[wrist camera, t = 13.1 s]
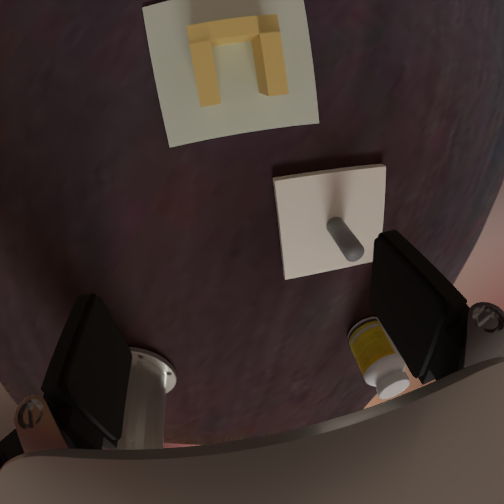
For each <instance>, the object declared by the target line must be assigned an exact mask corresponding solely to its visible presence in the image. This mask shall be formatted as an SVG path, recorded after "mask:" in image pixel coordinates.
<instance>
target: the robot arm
mask: <svg viewBox="0 0 504 504" xmlns="http://www.w3.org/2000/svg"><path fill="white" fill-rule="evenodd" d="M466 303H467V300H466V299H465V298H464V297H463V295H462V294H461V293H460V292H459V291H458V290H457V289H456V288H455V287H454V286H453V285H452V284H451V283H450V282H449V281H448V280H447V279H446V278H445V277H444V276H443V275H442V274H441V273H440V272H439V271H438V270H437V269H436V268H435V267H434V266H433V265H432V264H431V263H430V262H429V261H428V260H427V259H426V258H425V257H424V256H423V255H422V254H421V253H420V252H419V251H418V250H417V249H416V248H415V247H414V246H413V245H412V244H411V243H409V242H408V241H407V240H406V239H405V238H404V237H403V236H402V235H401V234H400V233H399V232H398V231H396V230H391V231H386V232H382V233H379V235H378V238H376V239H375V240H374V250H373V265H372V278H371V289H370V306H371V308H372V310H373V312H374V313H375V315H376V316H377V318H378V320H379V321H380V323H381V324H382V326H383V327H384V329H385V331H386V332H387V334H388V335H389V337H390V339H391V340H392V342H393V344H394V345H395V347H396V348H397V350H398V352H399V353H400V355H401V357H402V358H403V360H404V362H405V363H406V365H407V366H408V368H409V370H410V372H411V373H412V375H413V376H414V377H415V378H419V380H420V381H421V383H422V384H425V383H427V382H430V381H432V380H434V379H436V381H435V382H433V383H430V384H428V385H426V386H423V387H421V388H418V389H416V390H414V391H411V392H409V393H406V394H404V395H401V396H399V397H396V398H394V399H391V400H388V401H386V402H383V403H380V404H378V405H375V406H372V407H369V408H366V409H363V410H360V411H357V412H354V413H351V414H348V415H345V416H341V417H338V418H335V419H331V420H328V421H324V422H321V423H317V424H313V425H309V426H305V427H301V428H297V429H293V430H289V431H285V432H280V433H275V434H270V435H265V436H260V437H255V438H249V439H244V440H237V441H231V442H224V443H216V444H208V445H200V446H190V447H178V448H164V449H163V443H164V414H165V395H166V393H167V392H169V391H170V390H172V389H173V387H174V386H175V384H176V377H177V376H176V371H175V369H174V367H173V366H172V365H171V363H170V362H168V361H167V360H166V359H165V358H163V357H161V356H160V355H158V354H156V353H154V352H152V351H148V350H145V349H141V348H137V347H128V345H127V343H126V342H125V340H124V338H123V337H122V335H121V333H120V331H119V330H118V328H117V326H116V324H115V323H114V321H113V319H112V317H111V315H110V314H109V312H108V310H107V308H106V306H105V304H104V302H103V301H102V299H101V298H100V297H97V296H96V295H95V294H93V293H91V294H86V295H81V296H78V298H77V299H76V302H75V304H74V306H73V308H72V310H71V313H70V315H69V317H68V319H67V322H66V324H65V326H64V329H63V331H62V334H61V336H60V338H59V341H58V343H57V346H56V348H55V351H54V354H53V356H52V359H51V361H50V364H49V367H48V370H47V372H46V375H45V378H44V381H43V384H42V387H41V390H42V391H43V392H44V396H43V398H42V397H41V396H39V395H32V396H29V397H27V398H25V399H24V400H23V401H22V402H21V403H20V404H19V406H18V407H17V409H16V411H15V415H14V424H15V427H16V429H14V430H13V431H12V432H11V433H10V434H9V435H7V436H6V437H5V438H4V439H3V440H2V441H0V504H504V312H503V311H502V310H501V309H500V308H499V307H497V306H496V305H494V304H491V303H486V302H480V303H476V304H474V305H473V306H471V308H469V307H468V306H467V304H466Z"/></svg>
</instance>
